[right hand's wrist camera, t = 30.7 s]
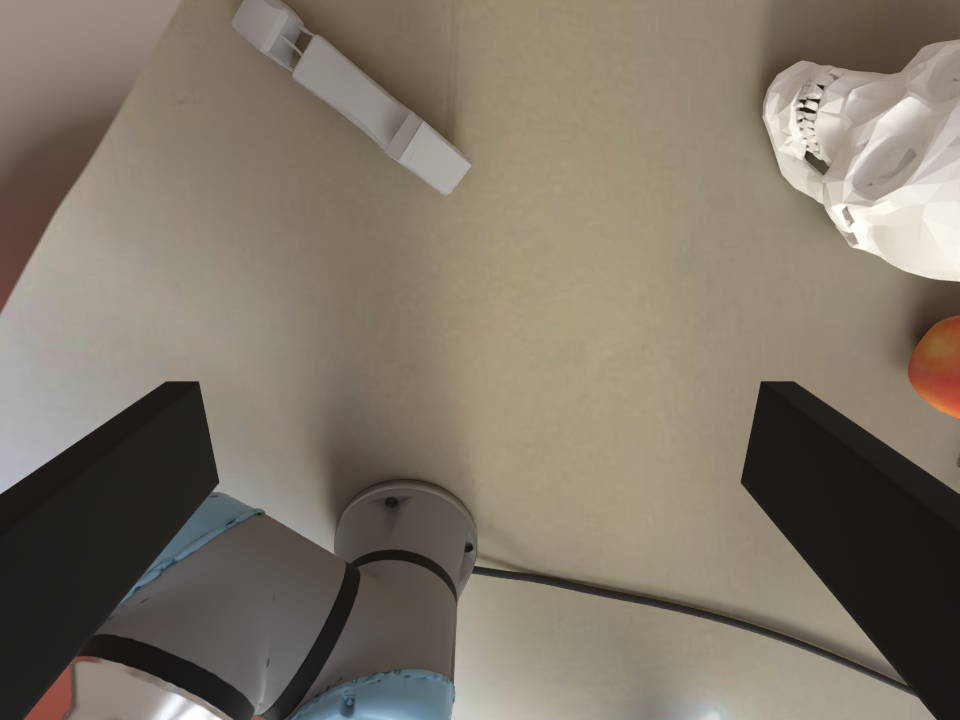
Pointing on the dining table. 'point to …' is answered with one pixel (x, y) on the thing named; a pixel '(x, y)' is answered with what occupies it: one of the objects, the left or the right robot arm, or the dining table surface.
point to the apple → (938, 366)
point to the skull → (879, 154)
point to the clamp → (352, 94)
